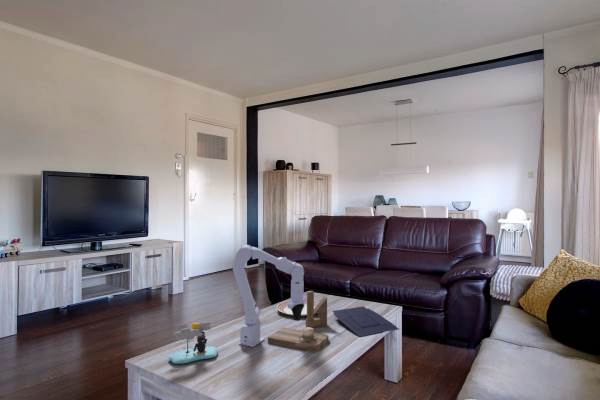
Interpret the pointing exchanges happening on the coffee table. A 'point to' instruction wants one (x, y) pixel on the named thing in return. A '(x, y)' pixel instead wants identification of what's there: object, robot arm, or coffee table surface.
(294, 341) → the board
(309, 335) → the beige cylinder
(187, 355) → the penguin figurine
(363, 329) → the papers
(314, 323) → the wooden block
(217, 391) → the coffee table surface
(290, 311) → the dinner plate
